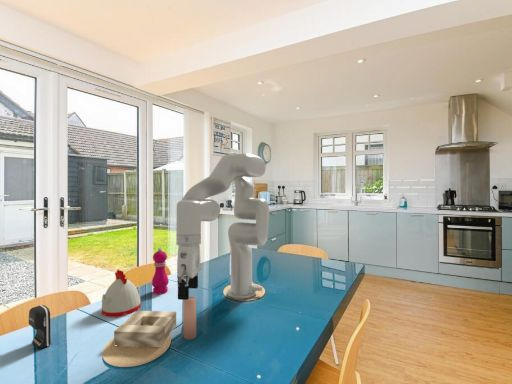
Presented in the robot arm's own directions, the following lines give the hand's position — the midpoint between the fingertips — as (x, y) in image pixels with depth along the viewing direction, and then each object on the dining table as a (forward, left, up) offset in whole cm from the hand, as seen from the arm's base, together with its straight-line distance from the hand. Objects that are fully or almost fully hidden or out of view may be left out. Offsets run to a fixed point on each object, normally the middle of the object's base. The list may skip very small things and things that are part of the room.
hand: (188, 293), depth 89 cm
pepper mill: (+25, -37, -14) cm, 46 cm away
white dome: (+33, -19, -14) cm, 40 cm away
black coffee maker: (+44, +7, -14) cm, 47 cm away
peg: (0, -1, -14) cm, 14 cm away
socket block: (+14, -1, -14) cm, 20 cm away
